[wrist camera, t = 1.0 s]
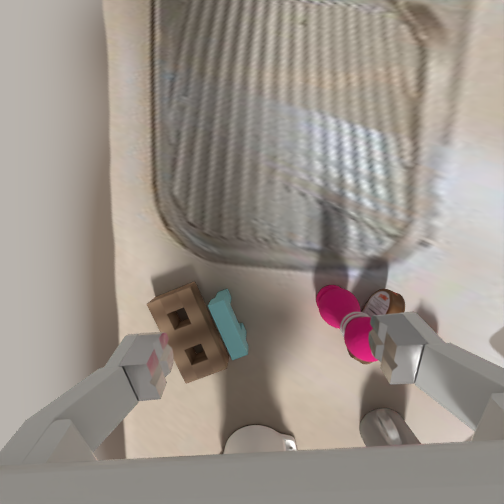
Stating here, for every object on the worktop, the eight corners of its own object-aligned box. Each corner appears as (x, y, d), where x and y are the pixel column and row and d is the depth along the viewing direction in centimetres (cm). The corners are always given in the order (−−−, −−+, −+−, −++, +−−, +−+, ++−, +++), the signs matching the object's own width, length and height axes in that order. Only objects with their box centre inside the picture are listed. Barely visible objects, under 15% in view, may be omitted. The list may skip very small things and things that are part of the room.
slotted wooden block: (229, 356, 51) (227, 368, 48) (191, 370, 52) (185, 383, 48) (194, 281, 49) (189, 287, 45) (155, 297, 50) (146, 304, 46)
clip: (248, 332, 51) (247, 354, 43) (235, 337, 51) (232, 360, 43) (228, 286, 49) (223, 299, 41) (215, 291, 49) (207, 305, 41)
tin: (351, 349, 51) (370, 375, 43) (338, 343, 51) (355, 368, 43) (388, 288, 49) (416, 303, 41) (375, 281, 49) (400, 295, 40)
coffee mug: (405, 443, 54) (438, 494, 45) (361, 449, 55) (385, 500, 45) (401, 391, 52) (436, 432, 43) (356, 397, 53) (379, 439, 43)
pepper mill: (306, 294, 49) (342, 348, 29) (337, 275, 49) (394, 317, 29) (325, 322, 50) (371, 392, 30) (355, 304, 49) (422, 363, 30)
